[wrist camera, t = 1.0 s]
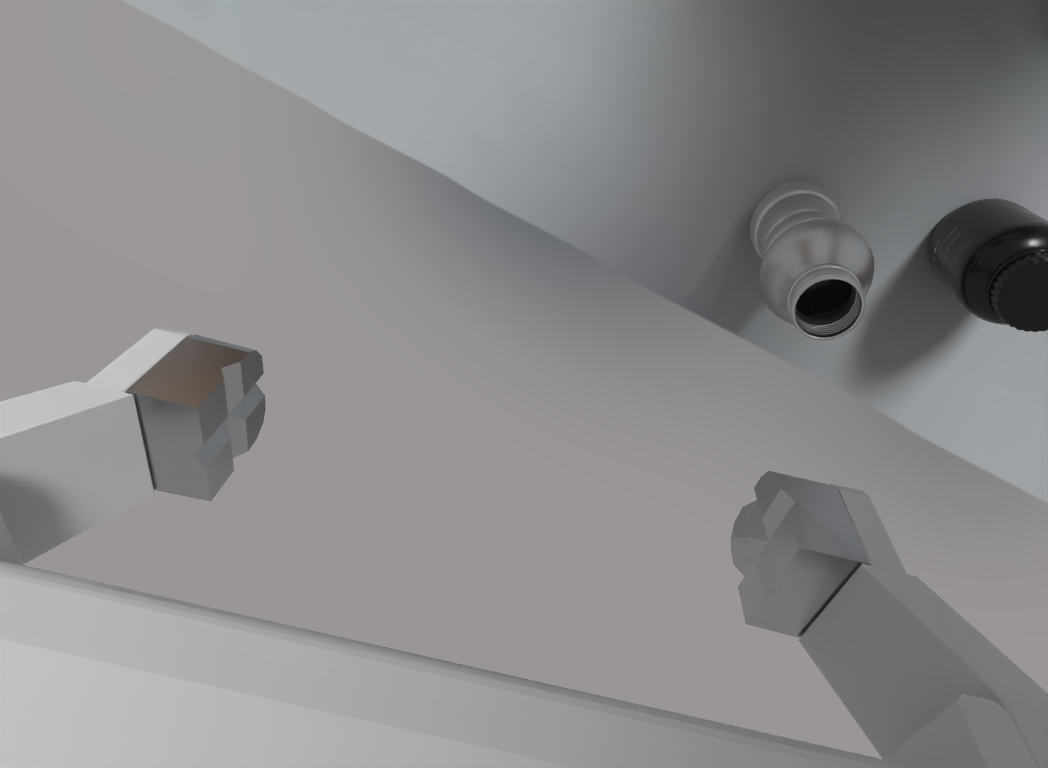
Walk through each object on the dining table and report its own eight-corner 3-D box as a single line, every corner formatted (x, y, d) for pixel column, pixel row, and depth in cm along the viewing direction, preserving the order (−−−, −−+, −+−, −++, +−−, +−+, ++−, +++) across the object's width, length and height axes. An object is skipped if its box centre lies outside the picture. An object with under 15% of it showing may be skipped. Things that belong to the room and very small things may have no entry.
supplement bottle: (1043, 194, 45) (1138, 240, 35) (1016, 283, 48) (1096, 350, 38) (934, 197, 47) (994, 242, 36) (916, 284, 50) (966, 347, 40)
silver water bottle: (735, 246, 52) (744, 347, 35) (767, 165, 48) (792, 233, 32) (813, 266, 51) (859, 379, 34) (850, 185, 48) (922, 266, 31)
